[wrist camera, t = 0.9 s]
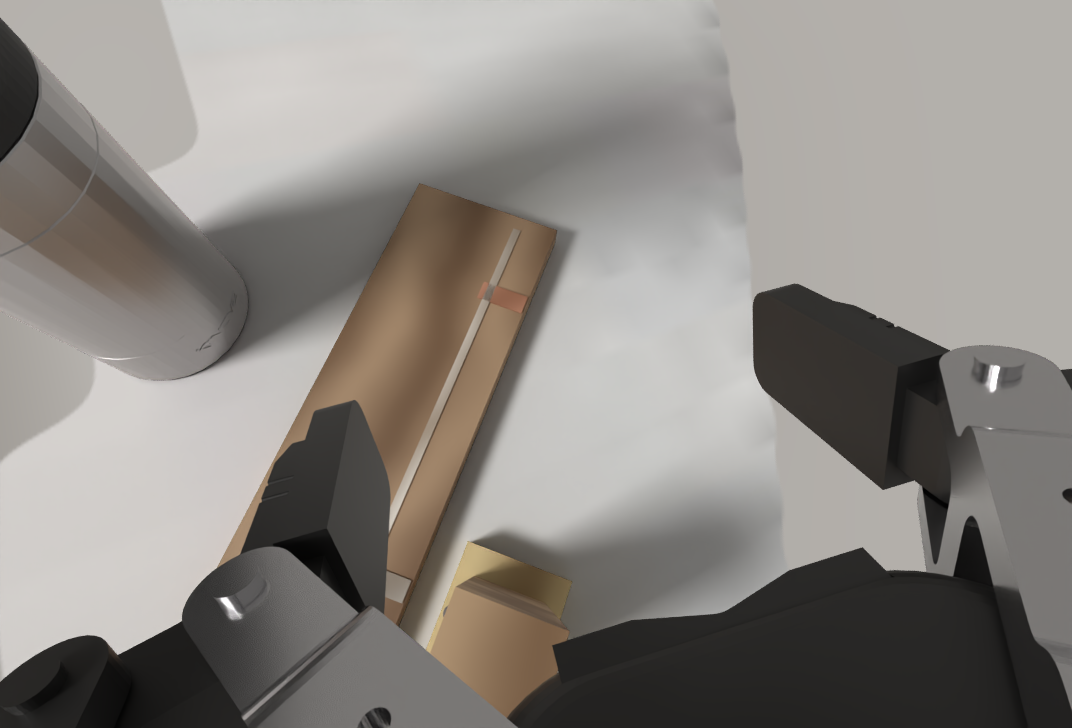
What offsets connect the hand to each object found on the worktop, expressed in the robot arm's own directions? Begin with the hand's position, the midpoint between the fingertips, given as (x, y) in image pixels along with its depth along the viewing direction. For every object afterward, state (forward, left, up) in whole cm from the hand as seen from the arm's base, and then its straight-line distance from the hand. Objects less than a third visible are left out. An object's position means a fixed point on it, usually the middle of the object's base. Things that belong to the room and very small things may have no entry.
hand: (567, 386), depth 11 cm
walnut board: (-9, +2, -23) cm, 25 cm away
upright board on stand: (+1, -7, -23) cm, 24 cm away
